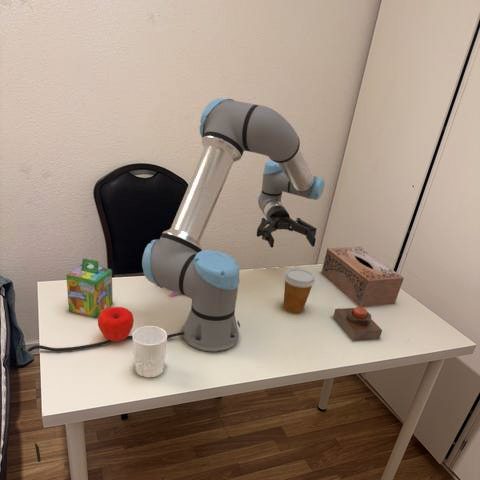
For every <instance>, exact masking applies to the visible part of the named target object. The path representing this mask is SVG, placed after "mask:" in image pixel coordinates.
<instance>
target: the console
mask: <svg viewBox="0 0 480 480" xmlns="http://www.w3.org/2000/svg"><path fill="white" fill-rule="evenodd" d="M354 308H355V307H346V308H344V307H343V308H334V312H333V316H332V317H333V319H334V320H335V322H336V323H337V324H338V325H339V327H340V328H341V329H342V330H343V331H344V332H345V334H346V335H347V336H348V337H349V338H350V339H351V341H352V342H358V341H371V340H380V338H381V335H382V332H383V329H382V328H381V327H380V326H379V325H378V324H377V323H376V322H375V321H374V320H373V319H372V315H371V314H370V312H369V311H368V312H367V316H366V318H358V317H356V316H354V315H353V311H354Z"/></svg>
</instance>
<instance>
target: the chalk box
mask: <svg viewBox="0 0 480 480" xmlns="http://www.w3.org/2000/svg"><path fill="white" fill-rule="evenodd" d="M65 278H66V291H67V302H68V303H67V305H68V312H73V313H75V314H81V315H84V316H88V317H92V318H96V319H98V317H99V315H100V313H101V312H102V311H103V310H104V309H106V308H109V307H112V305H113V303H114V302H113V301H114V300H113V270H112V269H111V268H108V267H104V266H99V261H98V260H95V259H90V258H82V261H81V264H80V265H78V266H77V267H76V268H74V269H73V270H71V271H70V272H69V273H67V274H66V275H65Z"/></svg>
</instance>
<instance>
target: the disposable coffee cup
mask: <svg viewBox="0 0 480 480" xmlns="http://www.w3.org/2000/svg"><path fill="white" fill-rule="evenodd" d="M283 279H284V288H283V289H284V291H283V309H284V310H285V312H288V313H291V314H301V313H302V312H303V311H304V309H305V306H306V303H307V301H308V298H309V295H310V293H311V290H312V287H313V285H314V284H315V282H316V280H315V275H314V274H313V273H312V272H311V271H309V270H306V269H302V268H290V269H287V270H286V273H285V274H284V276H283Z"/></svg>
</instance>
